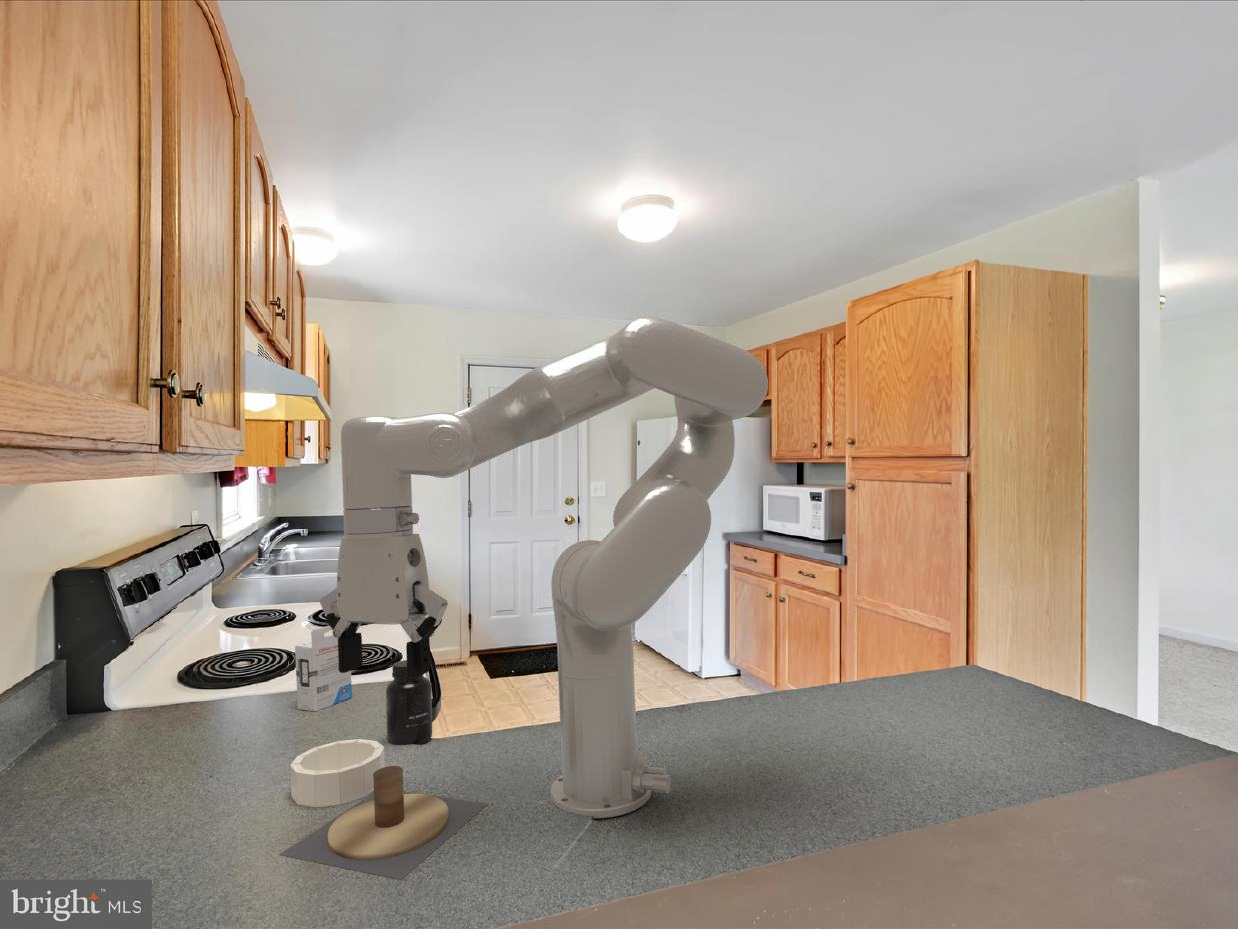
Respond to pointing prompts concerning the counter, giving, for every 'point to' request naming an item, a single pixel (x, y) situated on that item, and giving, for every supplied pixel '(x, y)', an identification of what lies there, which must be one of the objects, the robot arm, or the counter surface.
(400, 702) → the supplement bottle
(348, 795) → the bowl
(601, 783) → the robot arm
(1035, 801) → the counter surface
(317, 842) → the mat
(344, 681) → the ink box
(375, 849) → the lid
